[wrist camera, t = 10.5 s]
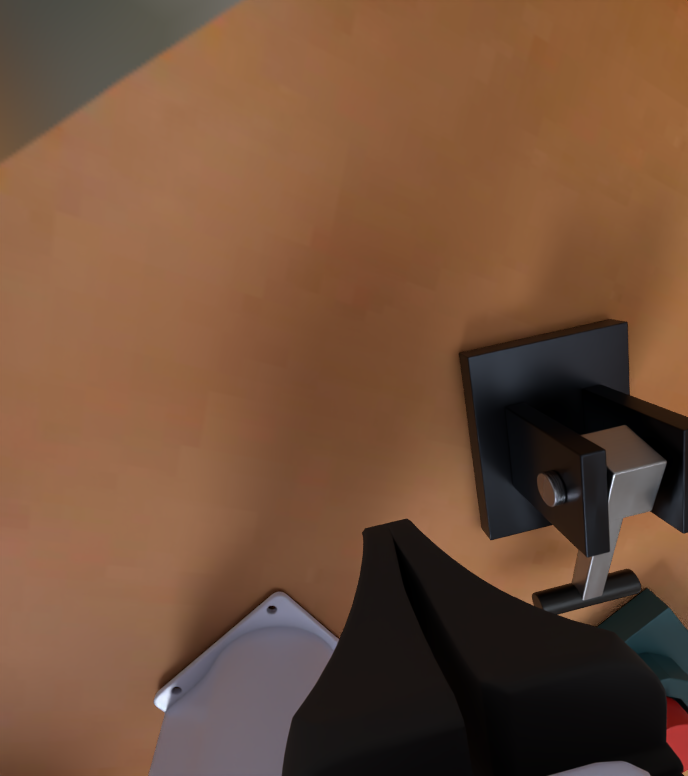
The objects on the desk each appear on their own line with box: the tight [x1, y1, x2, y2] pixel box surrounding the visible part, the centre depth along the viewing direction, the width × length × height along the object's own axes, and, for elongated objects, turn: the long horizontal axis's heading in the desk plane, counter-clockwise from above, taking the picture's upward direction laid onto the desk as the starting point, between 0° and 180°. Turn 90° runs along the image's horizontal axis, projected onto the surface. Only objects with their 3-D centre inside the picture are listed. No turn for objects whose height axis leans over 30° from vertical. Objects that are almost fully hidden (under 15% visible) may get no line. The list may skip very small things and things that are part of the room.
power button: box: [666, 696, 688, 773], centre depth 26 cm, size 4×4×2 cm
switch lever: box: [532, 425, 667, 615], centre depth 21 cm, size 10×5×2 cm, turn 10°
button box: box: [598, 588, 688, 714], centre depth 28 cm, size 10×8×4 cm
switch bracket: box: [459, 319, 688, 558], centre depth 21 cm, size 10×8×7 cm
